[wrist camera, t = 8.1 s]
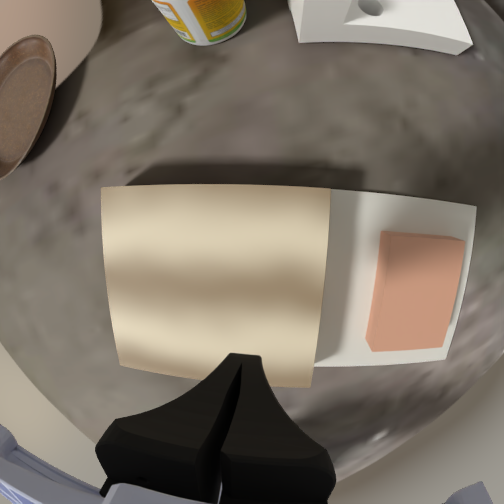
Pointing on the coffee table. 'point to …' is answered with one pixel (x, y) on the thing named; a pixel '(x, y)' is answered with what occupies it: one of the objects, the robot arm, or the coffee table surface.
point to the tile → (413, 291)
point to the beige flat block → (216, 276)
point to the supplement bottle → (204, 19)
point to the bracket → (383, 23)
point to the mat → (365, 265)
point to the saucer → (24, 98)
